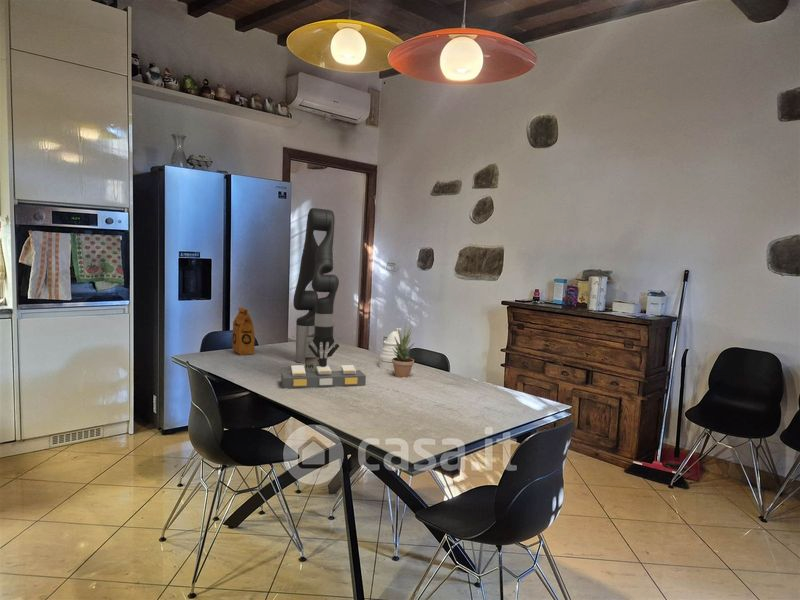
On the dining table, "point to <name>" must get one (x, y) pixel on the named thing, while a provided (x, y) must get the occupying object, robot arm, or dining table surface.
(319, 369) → the switch
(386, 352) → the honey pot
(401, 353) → the potted plant
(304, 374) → the switch
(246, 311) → the coffee package
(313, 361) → the coffee box
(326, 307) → the robot arm
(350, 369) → the switch
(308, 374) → the switch box
